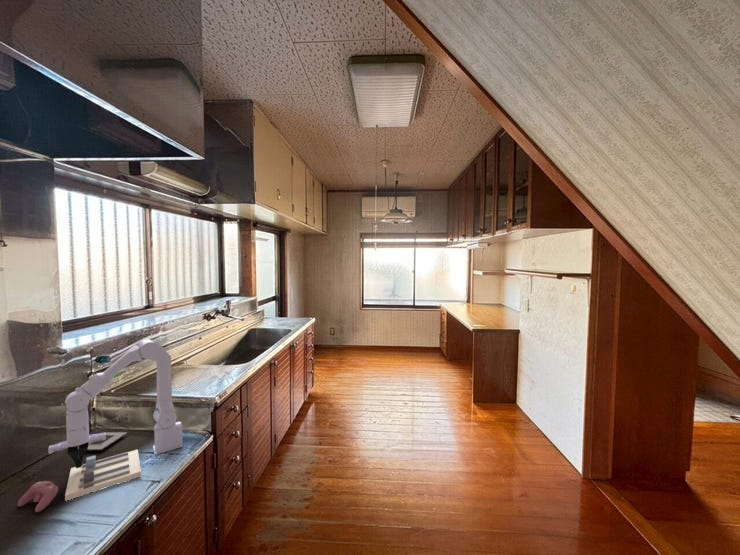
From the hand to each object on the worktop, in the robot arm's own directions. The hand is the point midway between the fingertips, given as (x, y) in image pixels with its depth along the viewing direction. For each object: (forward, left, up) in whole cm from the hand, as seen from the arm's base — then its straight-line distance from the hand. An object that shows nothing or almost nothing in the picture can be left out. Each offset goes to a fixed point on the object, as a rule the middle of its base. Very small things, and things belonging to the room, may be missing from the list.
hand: (79, 466), depth 112 cm
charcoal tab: (-3, +10, -1) cm, 11 cm away
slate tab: (-3, 0, -1) cm, 3 cm away
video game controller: (+9, +10, -4) cm, 14 cm away
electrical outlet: (-6, -23, -4) cm, 24 cm away
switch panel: (-7, +5, -4) cm, 9 cm away
